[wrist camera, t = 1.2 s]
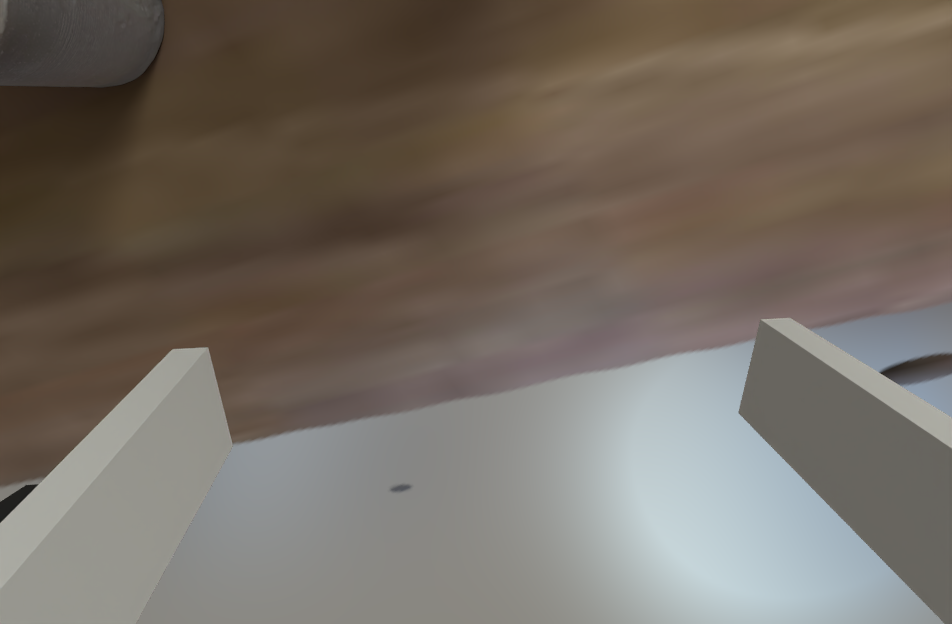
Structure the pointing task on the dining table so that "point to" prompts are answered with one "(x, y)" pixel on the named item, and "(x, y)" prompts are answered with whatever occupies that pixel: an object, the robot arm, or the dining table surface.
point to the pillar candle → (78, 41)
